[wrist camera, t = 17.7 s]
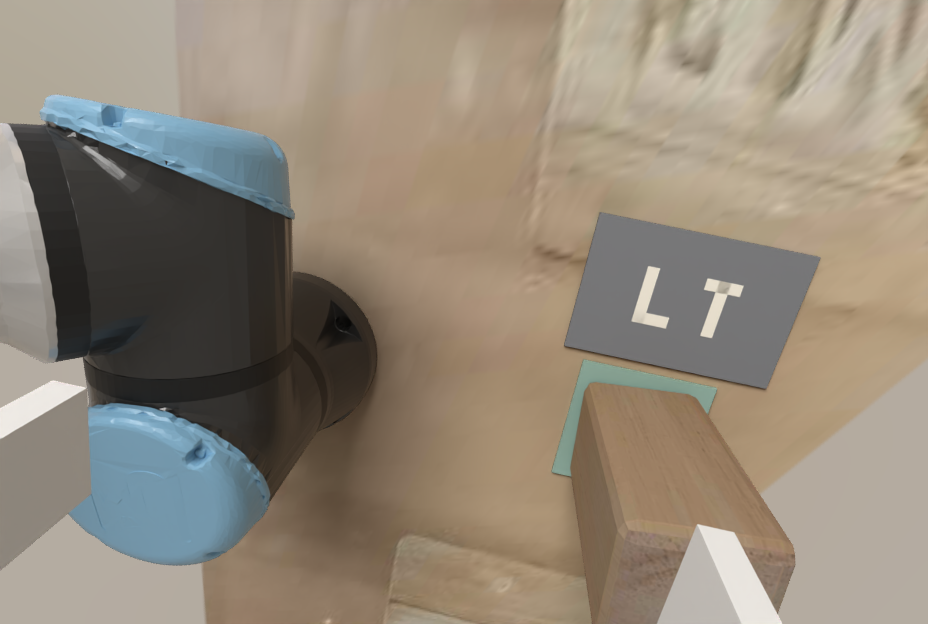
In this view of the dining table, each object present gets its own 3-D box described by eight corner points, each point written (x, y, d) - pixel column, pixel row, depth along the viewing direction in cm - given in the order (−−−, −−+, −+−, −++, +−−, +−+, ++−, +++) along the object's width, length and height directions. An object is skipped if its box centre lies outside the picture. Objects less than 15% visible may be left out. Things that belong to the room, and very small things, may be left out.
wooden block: (673, 485, 52) (759, 687, 33) (567, 470, 53) (593, 660, 34) (697, 390, 49) (808, 555, 30) (584, 376, 49) (623, 528, 31)
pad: (551, 470, 53) (551, 472, 53) (583, 359, 49) (583, 360, 49) (674, 497, 53) (674, 499, 52) (716, 387, 49) (717, 389, 49)
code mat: (564, 344, 49) (564, 345, 49) (599, 212, 45) (600, 212, 45) (764, 387, 48) (766, 388, 48) (818, 256, 44) (820, 257, 44)
